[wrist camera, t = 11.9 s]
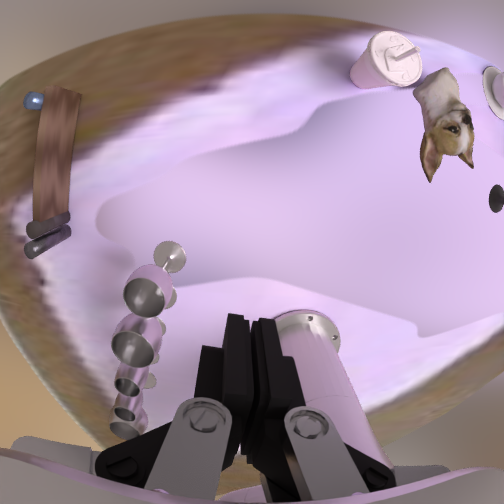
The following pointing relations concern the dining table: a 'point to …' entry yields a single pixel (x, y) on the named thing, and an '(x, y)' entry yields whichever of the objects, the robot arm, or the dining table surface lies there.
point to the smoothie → (387, 62)
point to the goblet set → (142, 337)
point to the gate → (53, 160)
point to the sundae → (496, 198)
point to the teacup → (494, 90)
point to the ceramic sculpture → (443, 122)
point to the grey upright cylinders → (58, 234)
